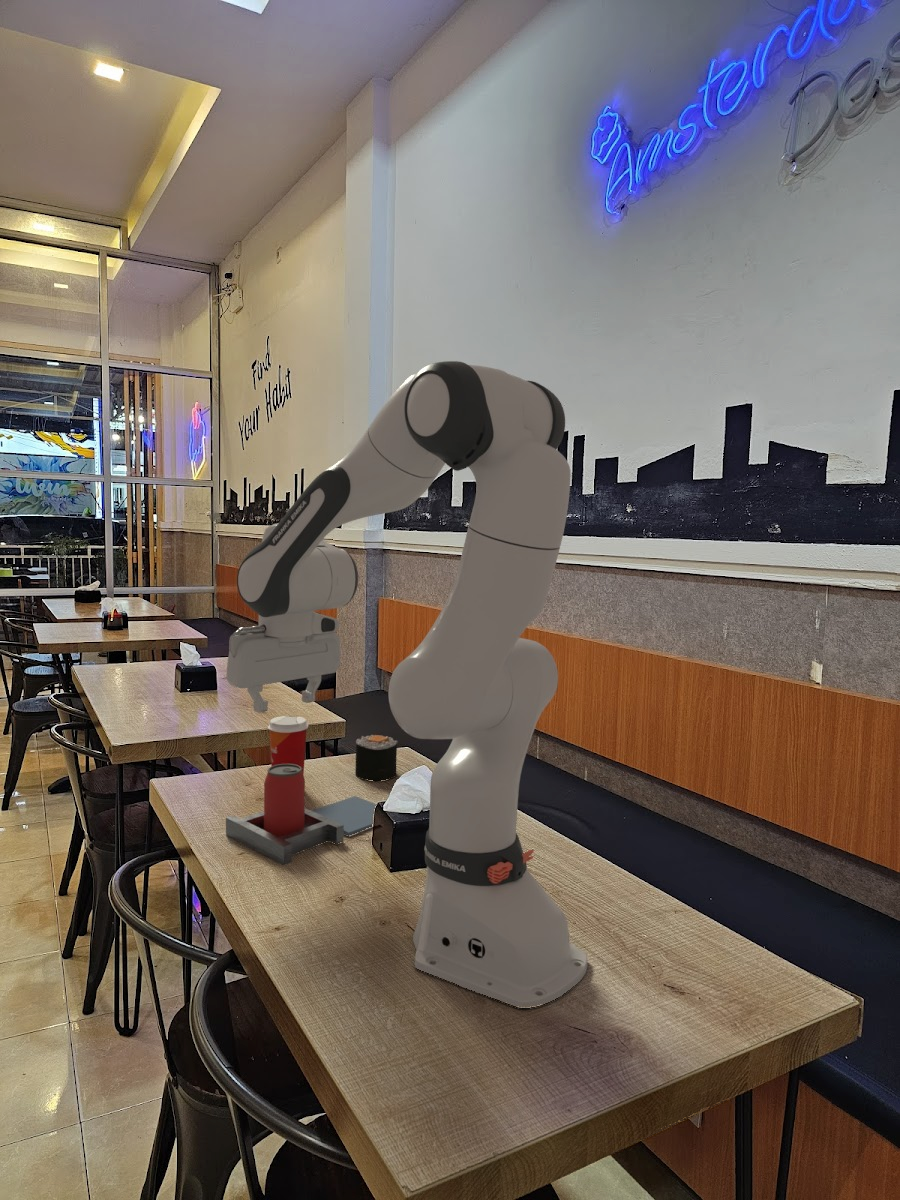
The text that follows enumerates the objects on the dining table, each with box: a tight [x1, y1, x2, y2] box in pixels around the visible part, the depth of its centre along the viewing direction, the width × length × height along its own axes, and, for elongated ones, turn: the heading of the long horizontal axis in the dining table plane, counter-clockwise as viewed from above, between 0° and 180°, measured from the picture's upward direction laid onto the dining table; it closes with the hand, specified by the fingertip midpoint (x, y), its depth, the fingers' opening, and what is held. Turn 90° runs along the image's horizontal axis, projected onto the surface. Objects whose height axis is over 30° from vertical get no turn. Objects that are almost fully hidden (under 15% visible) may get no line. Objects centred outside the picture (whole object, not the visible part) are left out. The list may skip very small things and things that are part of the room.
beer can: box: [263, 764, 306, 837], centre depth 128 cm, size 7×7×12 cm
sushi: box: [355, 734, 398, 782], centre depth 161 cm, size 8×8×8 cm
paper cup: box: [267, 715, 309, 775], centre depth 151 cm, size 8×8×14 cm
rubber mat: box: [310, 795, 378, 836], centre depth 139 cm, size 12×12×1 cm
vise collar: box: [225, 807, 345, 866], centre depth 129 cm, size 16×12×3 cm
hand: (285, 706), depth 126 cm, fingers open, 8 cm apart
